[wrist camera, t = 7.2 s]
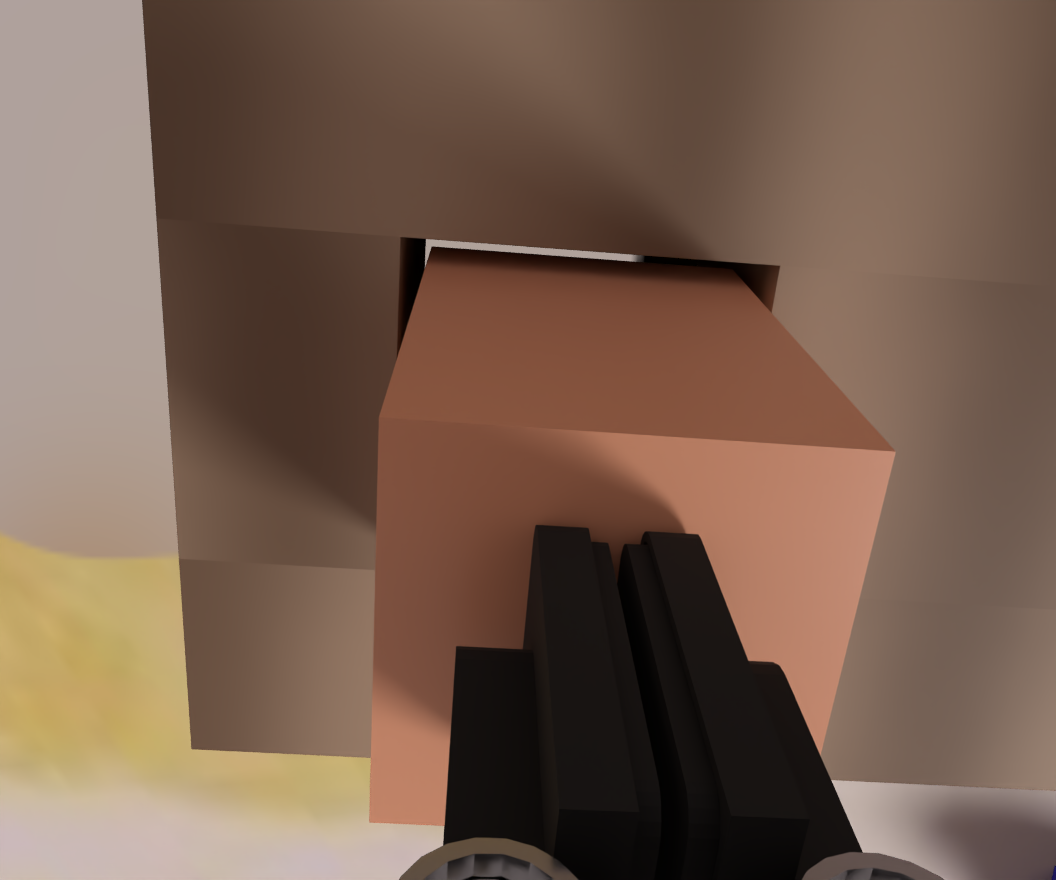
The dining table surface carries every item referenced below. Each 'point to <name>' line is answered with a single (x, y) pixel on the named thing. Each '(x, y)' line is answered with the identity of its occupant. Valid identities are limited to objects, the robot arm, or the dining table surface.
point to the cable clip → (1054, 874)
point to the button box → (627, 228)
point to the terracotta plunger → (602, 476)
